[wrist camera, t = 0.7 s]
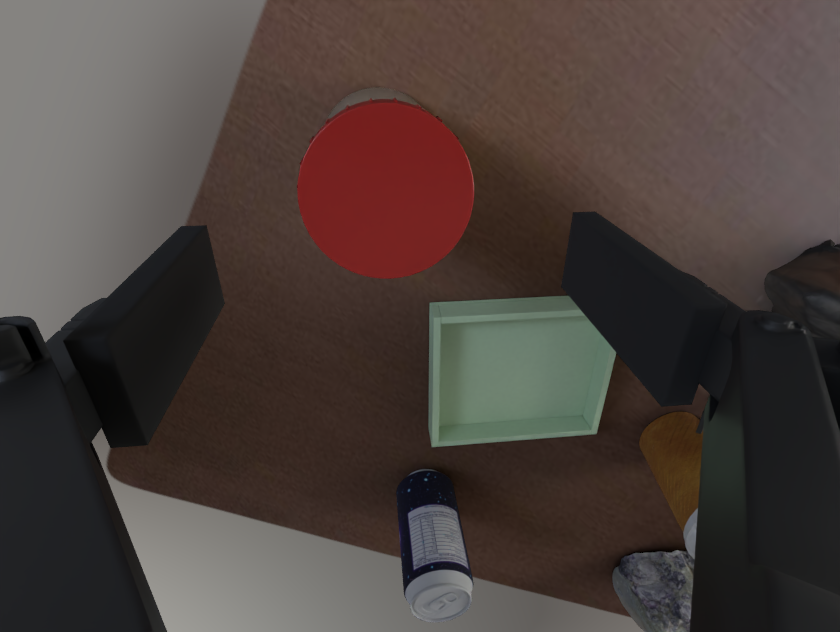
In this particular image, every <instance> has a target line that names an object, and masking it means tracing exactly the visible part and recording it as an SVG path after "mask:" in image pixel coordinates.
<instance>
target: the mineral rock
mask: <svg viewBox="0 0 840 632" xmlns="http://www.w3.org/2000/svg"><path fill="white" fill-rule="evenodd" d="M693 573H694V559H693V558H692V556H691V555H690V554H689V553H688V551H679V550H676V551H673V552H671V553H668V552H661V551H659V552H651V553H649V552H645V553H634V554H632V555H630V556H624V558H622V559H621V562H620V565H619V566H618V567H616V568H615V569H614V571H613V586H614V589H615V592H616V593H617V595H618V596H619V599H620V601H621V603H622V605H623V606H624V608H625V609H626V610H627V611H628V613H629V614H630V616H631V617H632V618H633V620H634V621H635V622H636V623H637V624H638V626H639V627H640V628H641V629H643V630H644V631H645V632H690V618H691V603H692V588H693Z"/></svg>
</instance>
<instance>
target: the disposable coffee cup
mask: <svg viewBox="0 0 840 632" xmlns="http://www.w3.org/2000/svg"><path fill="white" fill-rule="evenodd" d="M699 422H700V420H699V419H698V418H697V417H696V416H694V415H693V414H691V413H688V412H673V413H669V414H666V415H663V416H661V417H659V418H657V419H656V420H654V421H653V422H652V423H650V424H649V425H648V426H647V427H646V428H645V430H644V431H643V433H642V434H641V437H640V440H639V445H640V449H641V451H642V453H643V455H644V457H645V459H646V461H647V462H648V465H649V467H650V468H651V471H652V472H653V474H654V476H655V478H656V481H657V483H658V484H659V486H660V488H661V490H662V492H663V494H664V496H665V498H666V500H667V502H668V504H669V506H670V508H671V510H672V512H673V514H674V516H675V518H676V520H677V522H678V524H679V526H680V528H681V530H682V532H683V534H684V540H685V546H686V549H687V551H688V553H689V554H690V555H691V556H692V558H693V559H695V544H696V529H697V514H698V500H699V485H700V470H701V455H702V441H703V431H702V433H701V434H699V433H695V432H696V430H697V427H698V424H699Z"/></svg>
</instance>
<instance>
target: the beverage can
mask: <svg viewBox="0 0 840 632" xmlns="http://www.w3.org/2000/svg"><path fill="white" fill-rule="evenodd" d="M396 495H397V508H398V521H399V534H400V547H401V560H402V573H403V586H404V595H405V598H406V600H407V601H408V603H409V604H410V610H411V612H412V614H413V615H414V616H415V617H416V618H418V619H420V620H423V621H427V622H443V621H448V620H452V619H454V618H456V617H458V616H460V615H462V614H463V613H465V612H466V611H467V610H468V608H469V607H470V605H471V601H472V598H471V592H472V589H473V579H472V574H471V569H470V564H469V559H468V555H467V550H466V545H465V540H464V535H463V531H462V526H461V521H460V516H459V511H458V507H457V502H456V497H455V492H454V487H453V483H452V481H451V480H450V478H449V477H447V476H446V475H444V474H443V473H440V472H438V471H435V470H432V469H421V470H417V471H414V472H412V473H411V474H409V475H408V476H407V477H406V478H405V479H403V480H402V481H401V483H400V484H399V485H398V488H397V491H396Z"/></svg>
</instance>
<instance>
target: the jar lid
mask: <svg viewBox="0 0 840 632" xmlns="http://www.w3.org/2000/svg"><path fill="white" fill-rule="evenodd" d="M369 99H370V100H368V101H364V102H360V103H357V104H354V105H352V106H349V105H347V106H346V108H345V109H344V110H342V111H340V112H338V113H337V114H336V115H335V116H333V117H332V118H331V119H329V118H328V119H327V120H326V122H325V124H324V125H323V126H322V128H321V129H320V130H319V131H318V133H317V134H316V136H315V137H314V136H313V137H312V138H311V140H310V143H311V144H310V146H309V148H308V150H307V152H306V153H305V156H304V157H303V159H302V160H301V162H300V165H301V167H300V172H299V177H298V185H297V188H298V189H297V190H298V203H299V208H300V213H301V216H302V219H303V222H304V224H305V226H306V228H307V230H308V233H309V234H310V236H311V237H312V239H313V240H314V242H315V243H316V245H317V246H318V247H319V248H320V249H321V250H322V252H324V253H325V254H326V255H327V256H328V257H329V258H330V259H331V260H333V261H334V262H336V263H337V264H338V265H340V266H342V267H344V268H346V269H347V270H349V271H352V272H354V273H357V274H360V275H364V276H368V277H373V278H388V279H391V278H400V277H405V276H409V275H413V274H416V273H418V272H421V271H423V270H425V269H427V268H429V267H431V266H433V265H434V264H436V263H437V262H439V261H440V260H441V259H442V258H443V257H445V256H446V255H447V254H448V253H449V252H450V251H451V250H452V249H453V248H454V246H455V245H456V244H457V242H458V241H459V240H460V238H461V236H462V235H463V233H464V231H465V229H466V227H467V224H468V222H469V219H470V216H471V212H472V208H473V201H474V181H473V174H472V170H471V166H470V163H469V158H468V157H467V155H466V153H465V151H464V149H463V148H462V146H461V144H460V143H459V141H458V137H457V136H456V135H455V134H454V133H452V132H451V131H450V130H449V129H448V128H447V127H446V126H445V125H444V124H443V123H442V120H441V119H440V118H439V117H438V116H437V117H435V116H433V115H432V114H430V113H429V112H428V111H426V110H424V109H422V107H421V106H420V105H418V104H416V105H413V104H410V103H408V102H404V101H399V100H397V99H396V98H393V99H375V100H372V98H369Z"/></svg>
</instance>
